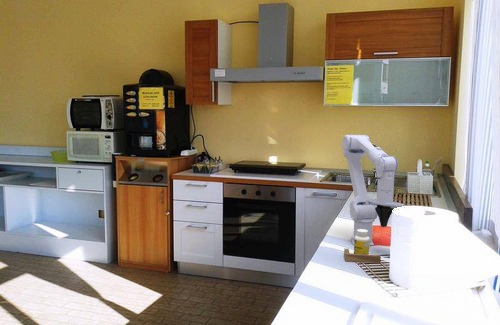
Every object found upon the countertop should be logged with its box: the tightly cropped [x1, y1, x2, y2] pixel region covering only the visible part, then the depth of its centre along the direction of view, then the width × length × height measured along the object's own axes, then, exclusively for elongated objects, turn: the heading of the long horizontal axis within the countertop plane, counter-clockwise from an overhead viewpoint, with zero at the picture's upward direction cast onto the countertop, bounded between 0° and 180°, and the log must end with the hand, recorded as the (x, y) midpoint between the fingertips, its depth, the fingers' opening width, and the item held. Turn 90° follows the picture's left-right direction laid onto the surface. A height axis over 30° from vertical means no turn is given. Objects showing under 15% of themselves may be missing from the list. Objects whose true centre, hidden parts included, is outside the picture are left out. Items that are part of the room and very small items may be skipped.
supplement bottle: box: [353, 229, 370, 255], centre depth 174 cm, size 5×5×10 cm
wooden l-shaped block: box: [343, 248, 382, 264], centre depth 172 cm, size 8×12×2 cm, turn 82°
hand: (383, 226), depth 177 cm, fingers closed
